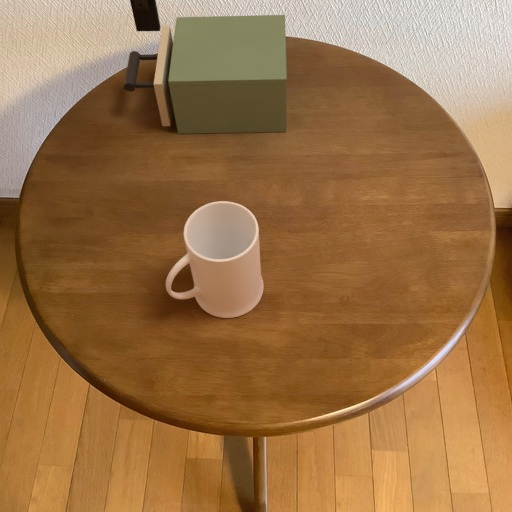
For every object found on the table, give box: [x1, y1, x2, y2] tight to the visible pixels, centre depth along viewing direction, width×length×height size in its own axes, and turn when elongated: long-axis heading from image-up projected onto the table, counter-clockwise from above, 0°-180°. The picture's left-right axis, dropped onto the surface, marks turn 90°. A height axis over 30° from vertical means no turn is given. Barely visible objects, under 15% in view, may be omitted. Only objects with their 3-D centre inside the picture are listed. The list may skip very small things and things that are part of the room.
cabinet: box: [168, 14, 288, 135], centre depth 92 cm, size 16×14×10 cm
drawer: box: [123, 25, 174, 127], centre depth 92 cm, size 20×13×8 cm, turn 89°
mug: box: [165, 200, 265, 319], centre depth 72 cm, size 12×8×12 cm
